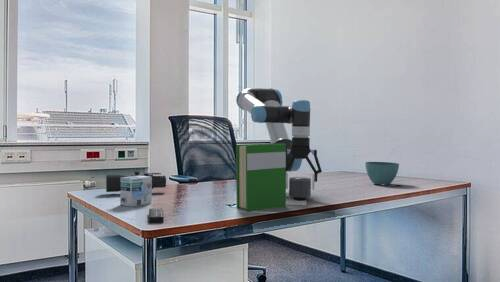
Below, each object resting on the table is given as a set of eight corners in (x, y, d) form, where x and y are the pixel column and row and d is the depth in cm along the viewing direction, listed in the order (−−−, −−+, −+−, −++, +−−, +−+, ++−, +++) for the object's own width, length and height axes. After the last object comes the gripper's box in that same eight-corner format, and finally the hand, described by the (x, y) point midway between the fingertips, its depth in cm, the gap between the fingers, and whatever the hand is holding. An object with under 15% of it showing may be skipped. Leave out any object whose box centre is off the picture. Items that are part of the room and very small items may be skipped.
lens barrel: (293, 200, 170) (293, 181, 170) (293, 198, 175) (293, 179, 175) (306, 200, 169) (306, 181, 169) (306, 198, 174) (306, 180, 174)
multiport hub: (149, 224, 126) (149, 217, 126) (149, 215, 140) (149, 208, 140) (163, 223, 127) (163, 216, 127) (162, 214, 141) (162, 208, 141)
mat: (275, 205, 160) (275, 204, 160) (278, 198, 176) (278, 197, 176) (306, 206, 159) (306, 205, 159) (306, 199, 175) (306, 198, 175)
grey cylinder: (288, 197, 168) (289, 178, 168) (289, 193, 177) (289, 176, 177) (310, 197, 167) (311, 179, 167) (310, 194, 176) (310, 177, 176)
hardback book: (247, 211, 146) (247, 145, 145) (236, 208, 152) (236, 144, 151) (285, 206, 156) (285, 143, 155) (274, 203, 162) (273, 143, 161)
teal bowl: (403, 184, 231) (404, 163, 231) (390, 187, 218) (391, 164, 217) (373, 181, 243) (373, 161, 243) (359, 184, 230) (359, 162, 229)
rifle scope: (166, 194, 185) (167, 172, 185) (106, 196, 176) (106, 173, 176) (163, 190, 195) (163, 170, 195) (106, 192, 186) (106, 171, 186)
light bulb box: (131, 207, 152) (131, 178, 152) (119, 205, 156) (119, 177, 155) (152, 203, 161) (152, 176, 161) (140, 201, 165) (140, 175, 165)
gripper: (272, 136, 169) (272, 189, 170) (329, 137, 166) (328, 191, 167) (274, 136, 177) (273, 186, 177) (327, 137, 174) (327, 188, 174)
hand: (299, 188), depth 172 cm, fingers open, 11 cm apart
